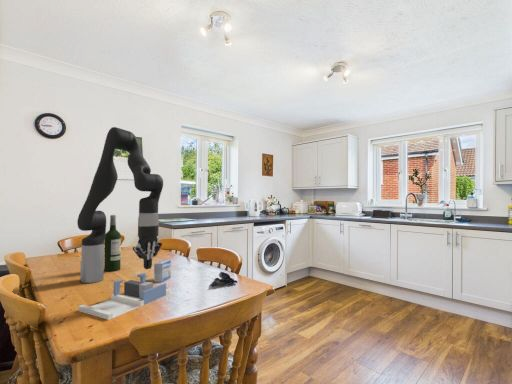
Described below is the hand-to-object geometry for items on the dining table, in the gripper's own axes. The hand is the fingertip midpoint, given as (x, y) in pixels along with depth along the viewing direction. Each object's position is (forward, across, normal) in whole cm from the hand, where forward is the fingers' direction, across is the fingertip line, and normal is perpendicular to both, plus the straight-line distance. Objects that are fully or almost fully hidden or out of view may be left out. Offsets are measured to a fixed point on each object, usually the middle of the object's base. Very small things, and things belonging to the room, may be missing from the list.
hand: (147, 268), depth 108 cm
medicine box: (+12, -22, -14) cm, 28 cm away
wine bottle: (+13, -22, -52) cm, 58 cm away
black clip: (+12, -30, +16) cm, 36 cm away
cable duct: (+12, +6, -4) cm, 14 cm away
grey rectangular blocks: (+11, 0, -5) cm, 13 cm away
